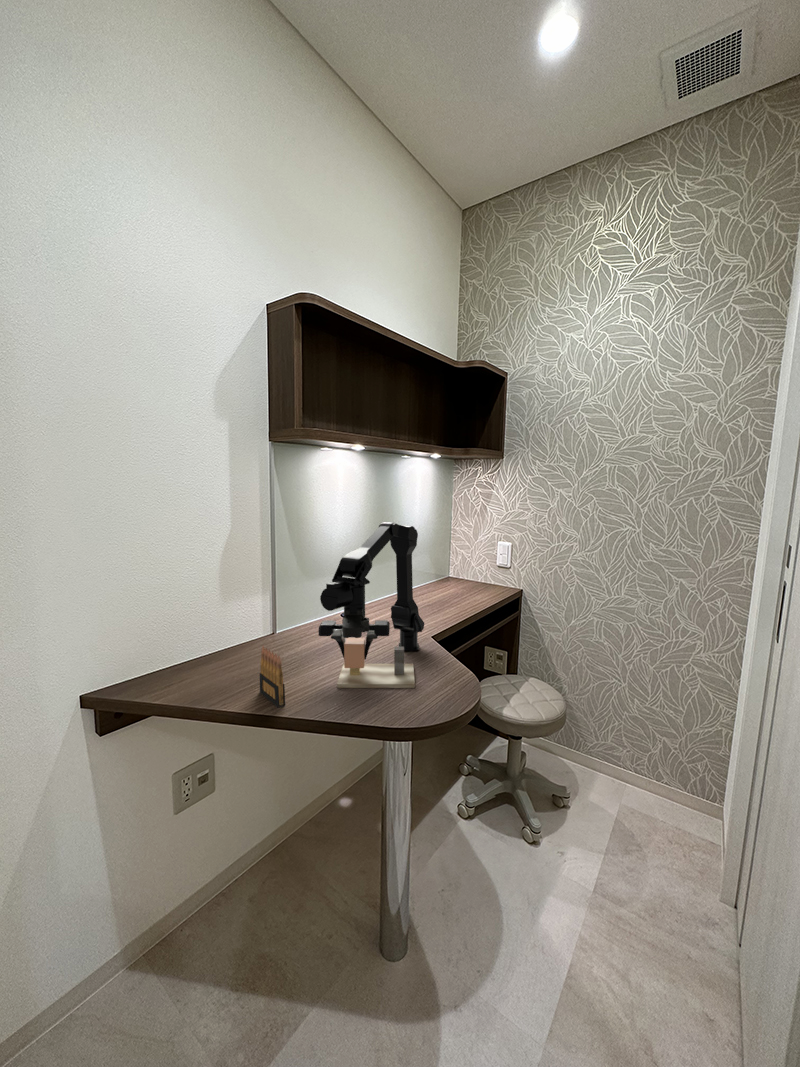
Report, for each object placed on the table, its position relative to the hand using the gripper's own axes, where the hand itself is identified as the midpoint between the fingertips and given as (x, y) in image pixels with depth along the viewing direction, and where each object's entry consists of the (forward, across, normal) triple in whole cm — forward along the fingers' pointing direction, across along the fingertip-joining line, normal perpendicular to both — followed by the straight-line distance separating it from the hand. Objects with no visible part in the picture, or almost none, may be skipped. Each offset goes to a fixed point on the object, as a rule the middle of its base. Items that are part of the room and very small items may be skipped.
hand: (355, 659), depth 124 cm
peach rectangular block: (+2, 0, 0) cm, 2 cm away
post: (+5, 0, 0) cm, 5 cm away
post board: (+5, +6, 0) cm, 8 cm away
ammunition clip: (+5, -19, -13) cm, 24 cm away
